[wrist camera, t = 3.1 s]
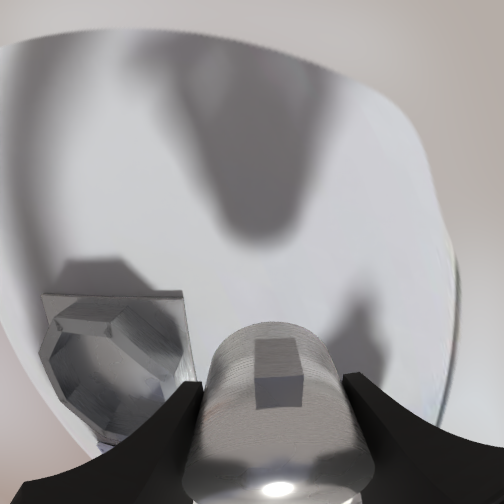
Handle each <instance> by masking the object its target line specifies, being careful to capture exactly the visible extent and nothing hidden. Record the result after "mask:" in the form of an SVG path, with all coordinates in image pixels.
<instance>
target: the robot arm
mask: <svg viewBox="0 0 504 504" xmlns="http://www.w3.org/2000/svg"><path fill="white" fill-rule="evenodd" d="M342 384H343V387H344V389H345V392H346V394H347V396H348V399H349V401H350V404H351V406H352V409H353V411H354V413H355V416H356V418H357V421H358V423H359V426H360V428H361V431H362V433H363V436H364V438H365V441H366V443H367V446H368V448H369V451H370V454H371V456H372V459H373V461H374V465H375V471H374V475H373V477H372V479H371V481H370V482H369V483H368V485H367V486H366V487H365V488H364V489H363V490H362V491H361V492H360V494H361V499H362V504H504V448H502V447H495V446H490V445H485V444H481V443H477V442H473V441H470V440H467V439H464V438H461V437H458V436H456V435H453V434H451V433H448V432H446V431H444V430H442V429H440V428H438V427H436V426H434V425H432V424H430V423H428V422H426V421H425V420H423V419H421V418H420V417H418V416H417V415H415V414H413V413H412V412H410V411H409V410H407V409H406V408H404V407H403V406H402V405H400V404H399V403H397V402H396V401H395V400H393V399H392V398H391V397H390V396H388V395H387V394H386V393H384V392H383V391H382V390H381V389H380V388H378V387H377V386H376V385H375V384H373V383H372V382H371V381H370V380H369V379H368V378H366V377H365V376H364V375H363V374H361V373H360V372H357V373H350V374H343V380H342ZM203 393H204V391H203V386H202V382H198V381H184V382H183V383H182V384H181V385H180V386H179V387H178V388H177V389H176V391H175V392H174V393H173V394H172V395H171V396H170V397H169V398H168V399H167V401H166V402H165V403H164V404H163V405H162V406H161V407H160V408H159V409H158V410H157V411H156V412H155V413H154V414H153V415H152V416H151V417H150V418H149V419H148V420H147V421H146V422H145V423H143V424H142V425H141V426H140V427H139V428H138V429H137V430H136V431H134V432H133V433H132V434H131V435H130V436H128V437H127V438H126V439H124V440H123V441H122V442H120V443H119V444H118V445H116V446H111V445H107V444H104V443H100V442H98V443H97V447H98V448H99V450H100V451H101V453H102V455H100V456H98V457H96V458H95V459H93V460H91V461H89V462H87V463H85V464H83V465H81V466H78V467H76V468H74V469H71V470H69V471H66V472H63V473H60V474H57V475H54V476H50V477H46V478H41V479H38V480H32V481H26V482H24V483H23V484H22V486H21V487H20V489H19V490H18V492H17V494H16V495H15V497H14V498H13V500H12V502H11V503H10V504H193V500H192V499H191V498H190V497H189V496H188V495H187V493H186V492H185V490H184V488H183V485H182V479H183V475H184V470H185V466H186V462H187V458H188V454H189V450H190V446H191V442H192V437H193V433H194V429H195V425H196V421H197V417H198V413H199V409H200V405H201V401H202V397H203Z"/></svg>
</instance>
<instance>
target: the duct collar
mask: <svg viewBox="0 0 504 504" xmlns="http://www.w3.org/2000/svg"><path fill="white" fill-rule="evenodd" d="M41 298H42V302H43V306H44V309H45V313H46V316H47V320H48V323H49V328H48V331H47V333H46V335H45V338H44V340H43V343H42V345H41V348H40V351H39V356H40V359H41V361H42V364H43V366H44V368H45V371H46V373H47V375H48V377H49V380H50V382H51V384H52V386H53V388H54V390H55V392H56V394H57V396H58V398H59V400H60V402H62V403H63V404H64V405H65V406H66V407H67V408H68V409H69V410H71V411H72V412H73V413H74V414H75V415H77V416H78V417H79V418H80V419H81V420H83V421H84V422H85V423H86V424H88V425H89V426H90V427H92V428H93V429H94V430H96V431H97V432H98V433H100V434H101V435H102V436H104V437H106V438H110V439H114V440H118V441H123V440H124V439H126V438H127V437H128V436H130V435H131V434H132V433H133V432H134V431H136V430H137V429H138V428H139V427H140V426H141V425H142V424H143V423H145V422H146V421H147V420H148V419H149V418H150V417H151V416H152V415H153V414H154V413H155V412H156V411H157V410H158V409H159V408H160V407H161V406H162V405H163V404H164V403H165V402H166V401H167V399H168V398H169V397H170V396H171V395H172V394H173V393H174V392H175V391H176V389H177V388H178V387H179V386H180V385H181V384H182V383H183V382H184V381H197V379H196V374H195V369H194V363H193V358H192V352H191V346H190V340H189V334H188V328H187V321H186V314H185V307H184V300H183V297H109V296H82V295H61V294H45V293H44V294H42V295H41Z"/></svg>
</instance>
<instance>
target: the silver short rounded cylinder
mask: <svg viewBox="0 0 504 504" xmlns="http://www.w3.org/2000/svg"><path fill="white" fill-rule="evenodd" d="M374 471H375V465H374V461H373V459H372V456H371V454H370V451H369V448H368V446H367V443H366V441H365V438H364V436H363V433H362V431H361V428H360V426H359V423H358V421H357V418H356V416H355V413H354V411H353V409H352V406H351V404H350V401H349V399H348V396H347V394H346V392H345V389H344V387H343V384H342V382H341V380H340V377H339V375H338V373H337V370H336V368H335V366H334V363H333V361H332V359H331V356H330V354H329V352H328V350H327V348H326V346H325V345H324V343H323V342H322V341H321V340H320V339H319V338H318V337H317V336H316V335H315V334H314V333H312V332H311V331H309V330H307V329H305V328H303V327H301V326H298V325H295V324H290V323H285V322H263V323H258V324H253V325H250V326H247V327H244V328H242V329H240V330H238V331H236V332H235V333H233V334H231V335H230V336H229V337H228V338H226V339H225V340H224V341H223V342H222V343H221V344H220V345H219V347H218V348H217V350H216V351H215V354H214V356H213V358H212V362H211V366H210V370H209V374H208V378H207V382H206V385H205V389H204V393H203V397H202V401H201V405H200V409H199V413H198V417H197V421H196V425H195V429H194V433H193V437H192V442H191V446H190V450H189V454H188V458H187V462H186V466H185V470H184V475H183V479H182V485H183V488H184V490H185V492H186V493H187V495H188V496H189V497H190V498H191V499H192V500H194V501H195V502H196V503H198V504H342V503H344V502H346V501H348V500H350V499H351V498H353V497H354V496H355V495H357V494H358V493H359V492H361V491H362V490H363V489H364V488H365V487H366V486H367V485H368V483H369V482H370V481H371V479H372V477H373V475H374Z"/></svg>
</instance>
